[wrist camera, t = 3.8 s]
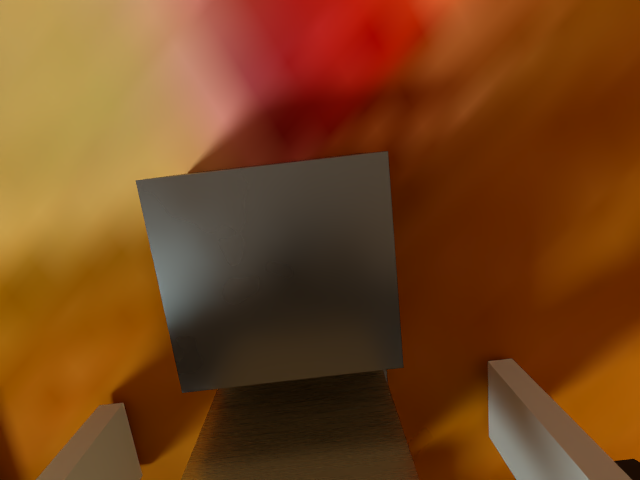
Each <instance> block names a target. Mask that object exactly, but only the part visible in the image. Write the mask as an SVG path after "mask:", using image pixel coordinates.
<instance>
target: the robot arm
mask: <svg viewBox="0 0 640 480" xmlns="http://www.w3.org/2000/svg"><path fill="white" fill-rule="evenodd" d="M488 407H489V437H490V439H491V440H492V442H493V444H494V445H495V447H496V448H497V450H498V451H499V453H500V455H501V456H502V458H503V459H504V461H505V462H506V464H507V466H508V467H509V469H510V470H511V472H512V474H513V475H514V477H515V478H516V480H640V462H638V461H637V460H635V459H629V460H620V461H613V460H612V459H611V458H610V457H609V456H608V455H607V454H606V453H605V452H604V451H603V450H602V449H601V448H600V447H599V446H598V445H597V444H596V443H595V442H594V441H593V440H592V439H591V438H590V437H589V436H588V435H587V434H586V433H585V432H584V431H583V430H582V429H581V428H580V427H579V426H578V425H577V424H576V423H575V422H574V421H573V420H572V418H571V417H570V416H569V415H568V414H567V413H566V412H565V411H564V410H563V409H562V408H561V407H560V406H559V405H558V404H557V403H556V402H555V401H554V400H553V399H552V398H551V397H550V396H549V395H548V394H547V393H546V392H545V391H544V390H543V389H542V388H541V387H540V386H539V385H538V384H537V383H536V382H535V381H534V380H533V379H532V378H531V377H530V376H529V375H528V374H527V373H526V372H525V371H524V370H523V369H522V368H521V367H520V366H519V365H518V364H517V363H516V362H515V361H514V360H513V359H503V360H494V361H488ZM141 477H142V472H141V468H140V464H139V460H138V456H137V453H136V449H135V445H134V441H133V437H132V433H131V430H130V426H129V422H128V418H127V414H126V410H125V407H124V403H116V404H107V405H99V406H98V408H97V409H96V410H95V411H94V412H93V413H92V415H91V416H90V417H89V418H88V419H87V420H86V422H85V423H84V424H83V425H82V426H81V428H80V429H79V430H78V431H77V432H76V433H75V435H74V436H73V437H72V438H71V439H70V440H69V442H68V443H67V444H66V445H65V446H64V447H63V449H62V450H61V451H60V452H59V453H58V454H57V456H56V457H55V458H54V459H53V460H52V461H51V463H50V464H49V465H48V466H47V467H46V469H45V470H44V471H43V472H42V473H41V474H40V476H39V477H38V478H37V479H36V480H140V479H141Z"/></svg>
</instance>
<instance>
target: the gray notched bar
mask: <svg viewBox="0 0 640 480" xmlns="http://www.w3.org/2000/svg"><path fill="white" fill-rule="evenodd" d="M136 184H137V188H138V193H139V198H140V202H141V207H142V211H143V216H144V220H145V225H146V229H147V234H148V239H149V243H150V248H151V252H152V257H153V261H154V266H155V270H156V275H157V280H158V284H159V289H160V293H161V298H162V302H163V307H164V312H165V316H166V321H167V325H168V330H169V334H170V339H171V343H172V348H173V353H174V357H175V362H176V366H177V371H178V375H179V380H180V384H181V389H182V393H184V392H193V391H202V390H210V389H219V388H228V387H237V386H246V385H254V384H263V383H272V382H281V381H289V380H298V379H307V378H316V377H325V376H333V375H342V374H351V373H360V372H369V371H377V370H383V372H384V375H385V378H386V381H387V371H386V369H395V368H403V355H402V341H401V327H400V313H399V299H398V285H397V271H396V257H395V243H394V229H393V215H392V201H391V187H390V173H389V159H388V151H384V152H371V153H361V154H352V155H343V156H335V157H326V158H318V159H309V160H300V161H292V162H283V163H275V164H266V165H257V166H249V167H240V168H232V169H223V170H214V171H206V172H197V173H189V174H181V175H173V176H166V177H159V178H151V179H144V180H136ZM387 384H388V383H387Z"/></svg>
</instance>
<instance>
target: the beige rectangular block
mask: <svg viewBox="0 0 640 480" xmlns="http://www.w3.org/2000/svg"><path fill="white" fill-rule="evenodd" d="M181 480H419V477H418V474H417V471H416V468H415V465H414V462H413V459H412V456H411V453H410V450H409V447H408V444H407V441H406V438H405V435H404V432H403V429H402V426H401V423H400V420H399V417H398V414H397V411H396V408H395V405H394V402H393V399H392V396H391V393H390V390H389V387H388V384H387V381H386V378H385V375H384V372H383V370H377V371H369V372H360V373H351V374H342V375H333V376H325V377H316V378H307V379H298V380H289V381H281V382H272V383H263V384H254V385H246V386H237V387H228V388H219V389H218V390H217V392H216V395H215V397H214V400H213V402H212V405H211V407H210V410H209V412H208V415H207V417H206V420H205V422H204V425H203V427H202V429H201V432H200V434H199V437H198V439H197V442H196V444H195V447H194V449H193V452H192V454H191V457H190V459H189V462H188V464H187V466H186V469H185V471H184V474H183V476H182V479H181Z"/></svg>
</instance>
